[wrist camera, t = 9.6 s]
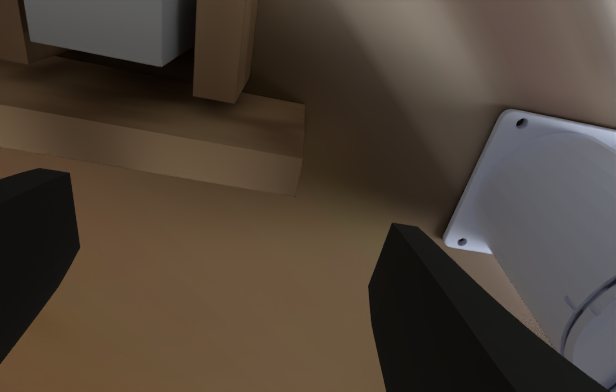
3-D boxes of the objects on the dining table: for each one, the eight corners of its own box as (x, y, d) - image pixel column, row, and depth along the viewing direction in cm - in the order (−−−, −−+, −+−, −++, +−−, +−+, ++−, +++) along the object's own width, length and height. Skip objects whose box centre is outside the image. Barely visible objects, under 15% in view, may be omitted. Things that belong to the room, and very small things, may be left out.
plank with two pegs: (327, -9, 15) (336, 2, 10) (299, 134, 19) (295, 197, 13) (-41, -91, 14) (-242, -126, 9) (-5, 77, 17) (-139, 123, 12)
